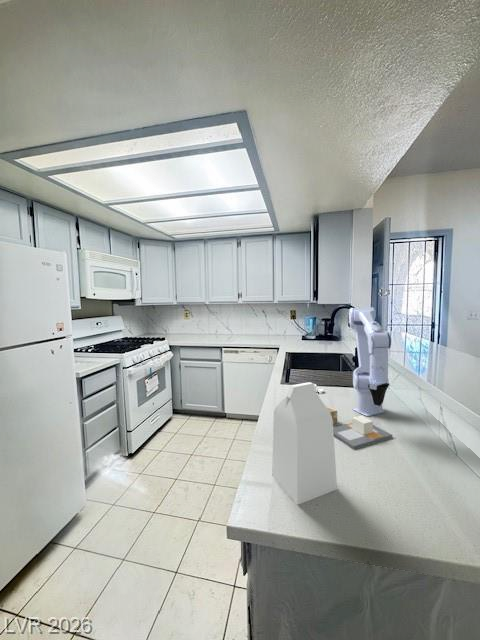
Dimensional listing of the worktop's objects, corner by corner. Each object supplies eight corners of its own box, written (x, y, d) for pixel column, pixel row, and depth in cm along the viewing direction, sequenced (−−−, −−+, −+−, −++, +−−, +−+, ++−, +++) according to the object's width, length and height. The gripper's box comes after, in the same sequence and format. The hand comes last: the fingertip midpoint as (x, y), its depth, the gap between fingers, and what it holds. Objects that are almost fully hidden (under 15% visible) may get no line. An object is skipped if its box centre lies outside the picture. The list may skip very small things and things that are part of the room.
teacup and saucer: (325, 392, 136) (325, 384, 136) (318, 396, 130) (318, 388, 130) (309, 388, 142) (309, 381, 141) (302, 393, 136) (302, 385, 135)
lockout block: (330, 419, 105) (330, 406, 105) (337, 423, 101) (337, 410, 101) (321, 421, 104) (321, 408, 103) (328, 425, 100) (328, 412, 100)
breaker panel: (363, 422, 101) (363, 420, 101) (392, 437, 90) (392, 434, 90) (327, 432, 95) (327, 429, 95) (353, 449, 84) (353, 446, 84)
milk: (297, 505, 62) (295, 395, 60) (272, 475, 72) (270, 381, 71) (337, 489, 67) (337, 387, 65) (308, 463, 77) (307, 375, 75)
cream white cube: (361, 426, 96) (361, 415, 96) (372, 432, 91) (372, 421, 91) (352, 428, 94) (352, 417, 94) (363, 435, 90) (363, 423, 90)
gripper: (372, 360, 102) (372, 395, 103) (360, 369, 91) (360, 407, 92) (393, 363, 97) (392, 399, 98) (383, 372, 87) (382, 412, 88)
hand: (378, 403), depth 95 cm, fingers closed
